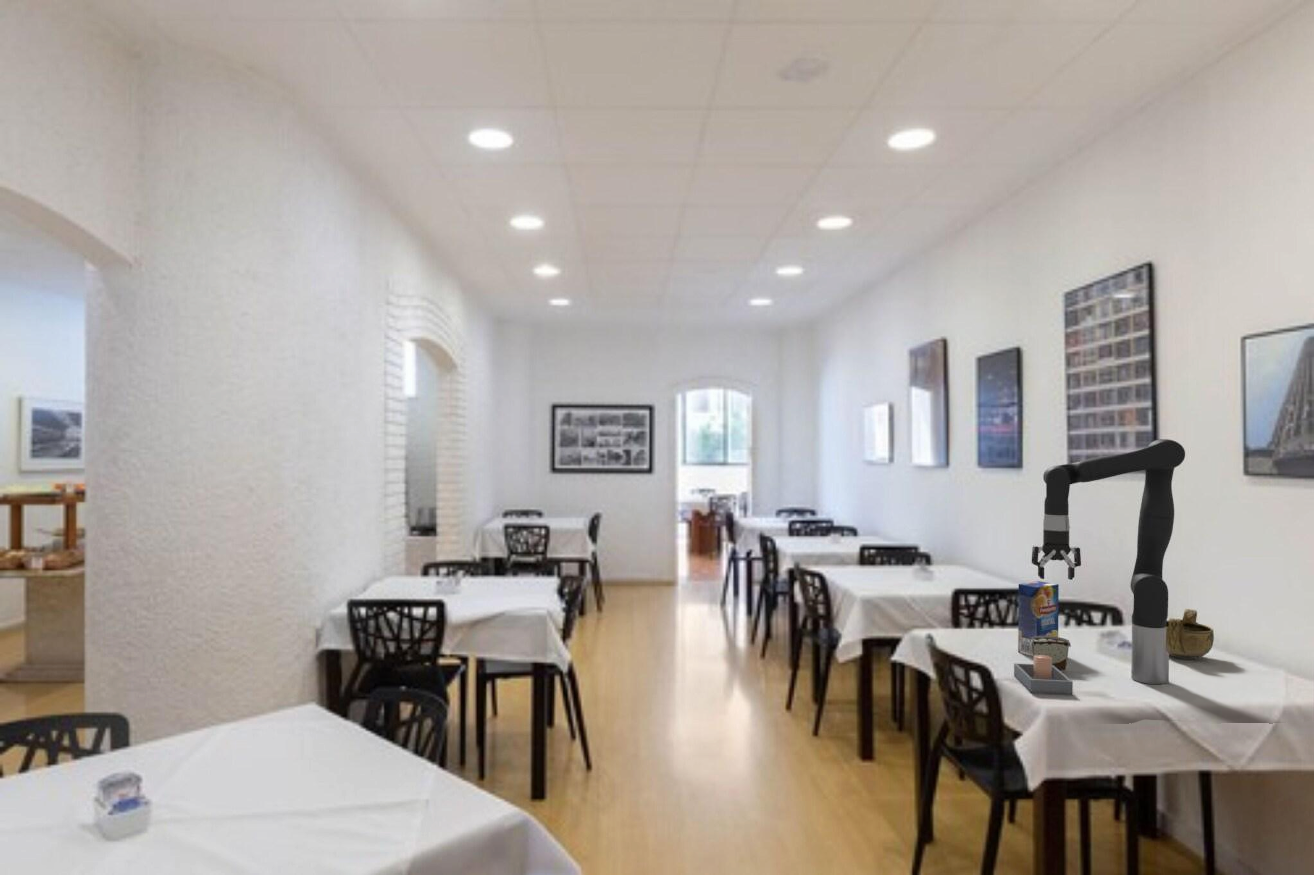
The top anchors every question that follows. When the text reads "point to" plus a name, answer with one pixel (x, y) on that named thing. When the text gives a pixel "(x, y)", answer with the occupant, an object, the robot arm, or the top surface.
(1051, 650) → the food container
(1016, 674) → the bin
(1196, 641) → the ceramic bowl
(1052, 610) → the juice carton
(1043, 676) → the brown upright block
